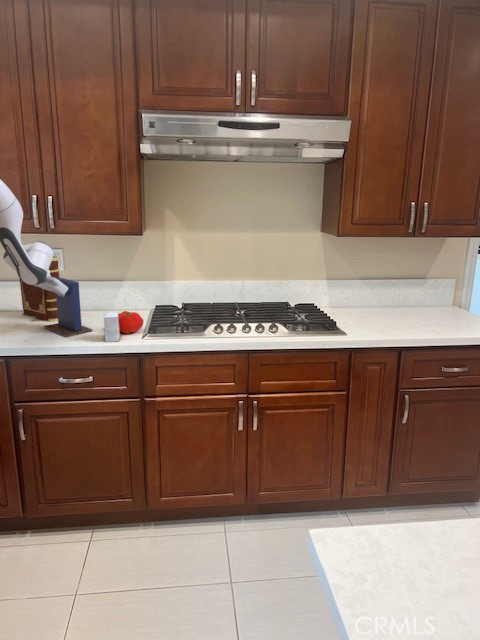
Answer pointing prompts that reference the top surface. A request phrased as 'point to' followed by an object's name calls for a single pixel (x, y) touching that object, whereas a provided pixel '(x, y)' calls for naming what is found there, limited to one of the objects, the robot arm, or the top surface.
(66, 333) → the brown flat board
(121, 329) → the tomato
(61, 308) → the book
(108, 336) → the small box
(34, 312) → the decorative book
